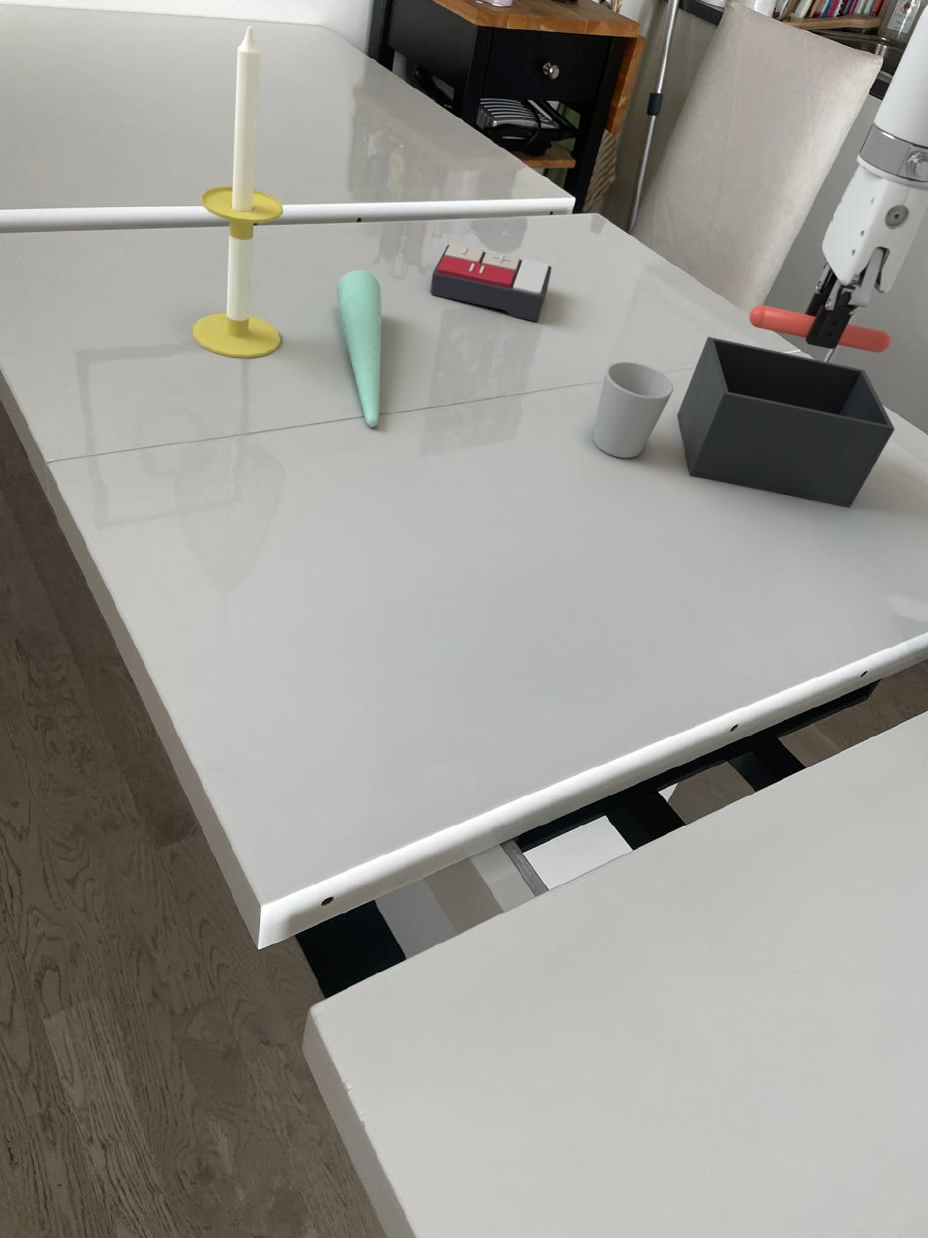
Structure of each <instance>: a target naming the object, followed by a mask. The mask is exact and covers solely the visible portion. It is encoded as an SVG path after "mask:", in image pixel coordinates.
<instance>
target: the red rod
mask: <svg viewBox="0 0 928 1238" xmlns="http://www.w3.org/2000/svg"><path fill="white" fill-rule="evenodd" d="M814 320H815V316H810V315H806V314H805V313H801V312H796V311H792V310H787V309H782V308H777V307H773V306H768V305H763V304H762V305H761V304H760V305H757V306H754V307H753V308H752V309H751V311H750V312H749V322H750V324H751V325H752V326H753V327H754V328H758V329H762V330H768V331H772V332H776V333H782V334H786V335H791V336H796V337H800V338H805V339H806V337H807V335H808V332H809V330H810V328H811V326H812V324H813V322H814ZM891 342H892V340H891V336H890V334H888V332H886V331H884V330H880V329H875V328H870V327H866V326H862V325H857V324H853V323H848V324H847V326H846V328H845V330H844V332H843V334H842V336H841V338H840V340H839V342H838V344H837V346H843V347H847V348H852V349H857V350H861V351H866V352H871V353H877V354H879V353H884V352H885V351H887V350H888V349H889V347H890V345H891Z"/></svg>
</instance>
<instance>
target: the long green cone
mask: <svg viewBox="0 0 928 1238" xmlns="http://www.w3.org/2000/svg"><path fill="white" fill-rule="evenodd" d="M336 294H337V295H336V296H337V300H338V307H339V312H340V317H341V321H342V326H343V331H344V335H345V339H346V343H347V344H346V345H347V347H348V353H349V357H350V362H351V366H352V370H353V374H354V379H355V383H356V387H357V390H358V396H359V400H360V403H361V407H362V412H363V415H364V419H365V422H366V424H367V426H368V427H370V428H375V427H376V426H377V425H378V423H379V417H380V414H379V413H380V393H381V391H380V390H381V389H380V388H381V352H382V351H381V349H382V291H381V285H380V283H379V281H378V279H377V278H376V276H375V275H373V274H372V273H370V272H368V271H365V270H361V269H357V270H352V271H349V272H347V273H346V274H344V275H343V276H342V277H341V278H340V279H339V281H338V283H337V287H336Z"/></svg>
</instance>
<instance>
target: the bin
mask: <svg viewBox="0 0 928 1238" xmlns="http://www.w3.org/2000/svg"><path fill="white" fill-rule="evenodd" d="M866 372H867V371H866V370H865V369H863V368H857V367H852V366H848V365H842V364H838V363H833V362H828V361H823V360H819V359H814V358H809V357H805V356H801V355H795V354H791V353H788V352H787V353H786V352H782V351H776V350H772V349H767V348H762V347H758V346H753V345H749V344H745V343H739V342H735V341H730V340H726V339H720V338H716V337H711V336H707V338H706V341H705V343H704V345H703V347H702V351H701V353H700V356H699V358H698V361H697V364H696V366H695V368H694V371H693V373H692V376H691V379H690V381H689V384H688V386H687V389H686V392H685V394H684V397H683V399H682V402H681V403H680V404H681V405H680V406H679V409H678V413H677V414H676V415H677V421H678V426H679V430H680V435H681V441H682V445H683V449H684V454H685V459H686V463H687V464H686V465H687V469H688V474H689V476H691V477H695V478H701V479H705V480H711V481H715V482H721V483H726V484H730V485H736V486H741V487H745V488H751V489H755V490H760V491H766V492H771V493H776V494H780V495H787V496H791V497H797V498H800V499H807V500H811V501H816V502H822V503H826V504H832V505H835V506H836V505H837V506H840V507H841V506H842V507H846V508H851V507H852V505H853V503H854V502H855V500H856V498H857V496H858V495H859V493H860V491H861V490H862V488H863V486H864V485H865V483H866V481H867V479H868V477H869V475H870V473H871V472H872V470H873V468H874V467H875V465H876V463H877V461H878V460H879V458H880V456H881V454H882V452H883V451H884V449H885V447H886V446H887V444H888V442H889V440H890V439H891V437H892V435H893V433H894V431H895V430H896V428H895V426H894V424H893V423H892V420H891V418H890V417H889V415H888V412H887V411H886V409H885V407H884V406H883V405H884V404H883V403H882V401H881V399H880V398H879V395H878V393H877V392H876V390H875V388H874V386H873V384H872V382H871V379H870V378H869V376H868V373H866Z"/></svg>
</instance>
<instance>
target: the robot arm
mask: <svg viewBox="0 0 928 1238" xmlns="http://www.w3.org/2000/svg"><path fill="white" fill-rule="evenodd" d="M856 162H857V164H858V167H857V169H856V170H855V172H854V174H853V176H852V178H851V179H850V181H849V183H848V185H847V187H846V189H845V191H844V193H843V195H842V196H841V199H840V201H839V203H838V205H837V207H836V209H835V211H834V214H833V215H832V218H831V220H830V222H829V224H828V226H827V230H826V232H825V235H824V237H823V241H822V245H821V248H822V253H823V255H824V259H825V263H824V265H823V271H822V273H821V274H820V277H819V279H818V281H817V283H816V286H815V292H814V293H813V295H812V297H811V300H810V302H809V304H808V306H807V309H806V310H805V312H804V314H806V315H810V316H815V320H814V322H813V324H812V326H811V328H810V330H809V332H808V335H807V337H806V338H805V342H806V343H807V345H810V346H814V347H819V348H825V349H829V350H834V349H836V348H837V346H838V342H839V340H840V338H841V336H842V334H843V332H844V330H845V328H846V326H847V324H849V322H850V320H851V318H852V317H853V316H854V315H855V314H856V313H857V310H858V308H867V307H868V305H870V302H871V297H872V295H873V291H874V289H875V291H876V292H877V293H879V294H881V295H883V294H886V293H888V292H889V291H890V290H891V289H892V287H893V285H894V282H895V280H896V278H897V276H898V274H899V273H900V270H901V268H902V266H903V264H904V262H905V260H906V257H907V255H908V253H909V250H910V248H911V246H912V244H913V241H914V239H915V237H916V234H917V233H918V230H919V227H920V224H921V222H922V220H923V217H924V214H925V212H926V208H927V206H928V4H927V5H926V6H925V8H924V9H923V11H922V13H921V15H920V17H919V18H918V21H917V23H916V25H915V27H914V29H913V32H912V34H911V36H910V39H909V41H908V43H907V45H906V47H905V50H904V52H903V54H902V56H901V59H900V61H899V63H898V66H897V68H896V70H895V72H894V75H893V77H892V79H891V82H890V84H889V85H888V88H887V90H886V92H885V95H884V96H883V99H882V102H881V103H880V106H879V108H878V110H877V112H876V115H875V117H874V119H873V122H872V124H871V125H870V127H869V131H868V133H867V134H866V137H865V140H864V141H863V144H862V146H861V149H860V151H859V153H858V155H857V157H856ZM854 278H857V280H855V279H854ZM848 290H851V291H848Z"/></svg>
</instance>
